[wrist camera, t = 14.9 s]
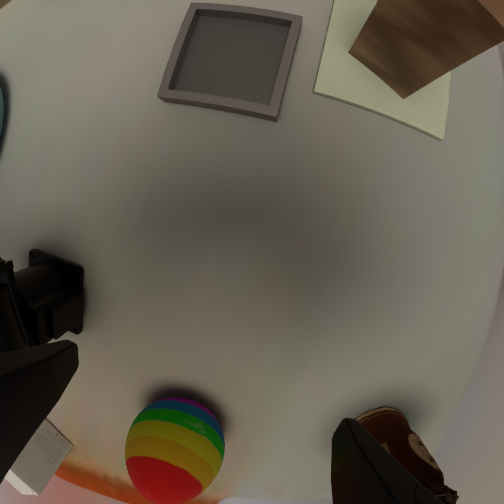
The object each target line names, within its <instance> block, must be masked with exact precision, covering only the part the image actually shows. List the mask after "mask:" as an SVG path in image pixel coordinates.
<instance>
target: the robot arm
mask: <svg viewBox="0 0 504 504" xmlns="http://www.w3.org/2000/svg"><path fill="white" fill-rule="evenodd" d="M33 254H34V255H33ZM13 268H14V266H13V262H12V260H9V261H5V260H3V259H1V257H0V484H1V482H2V480H3V479H4V477H5V476H6V474H7V473H8V471H9V470H10V468H11V467H12V465H13V464H14V462H15V461H16V459H17V458H18V456H19V455H20V453H21V452H22V450H23V449H24V448H25V446H26V445H27V443H28V442H29V440H30V439H31V438H32V436H33V435H34V433H35V432H36V431H37V429H38V428H39V426H40V425H41V424H42V422H43V421H44V419H45V418H46V417H47V415H48V414H49V413H50V411H51V410H52V409H53V407H54V406H55V405H56V403H57V402H58V400H59V399H60V397H61V396H62V394H63V392H64V391H65V389H66V387H67V385H68V384H69V382H70V380H71V379H72V377H73V375H74V374H75V372H76V370H77V368H78V365H79V359H78V346H77V344H76V343H74V342H72V341H70V340H62V341H57V342H53V343H48V342H49V341H51V340H52V339H55V340H57V339H58V338H59V337H61V336H62V335H63V334H64V333H66V332H67V331H70V332H72V333H74V334H77V335H78V334H80V333H81V332H82V319H83V269H82V267H81V266H79V265H76V264H74V263H71V262H68V261H66V260H63V259H60V258H57V257H55V256H52V255H50V254H47V253H44V252H42V251H39V250H37V249H32V250H30V251H29V267H27V268H24V269H22V270H19V271H17V272H15V273H14V271H13ZM76 270H78V273H77V271H76ZM76 328H77V329H78V330H77V329H76ZM47 343H48V344H47ZM331 486H332V499H333V504H444V503H443V502H442V501H441V500H439V499H438V498H437V497H435V496H434V495H433V494H432V493H431V492H430V491H429V490H427V489H426V488H425V487H424V486H423V485H422V484H421V483H420V482H419V481H417V479H416V478H415V477H414V476H413V475H411V474H410V473H409V472H408V471H407V470H406V469H405V468H404V467H403V466H402V465H401V464H400V463H399V462H398V461H397V460H396V459H395V458H394V457H393V456H392V455H391V454H390V453H389V452H388V451H387V450H386V449H385V448H384V447H383V446H382V445H381V444H380V443H379V442H378V441H377V440H376V439H375V438H374V437H373V436H372V435H371V434H370V433H369V432H368V431H367V430H366V429H365V428H364V427H363V426H362V425H361V424H360V423H359V422H358V421H357V420H356V419H351V418H344V419H343V420H342V421H341V423H340V424H339V426H338V428H337V429H336V431H335V433H334V435H333V438H332V459H331Z"/></svg>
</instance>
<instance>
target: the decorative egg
mask: <svg viewBox="0 0 504 504" xmlns="http://www.w3.org/2000/svg"><path fill="white" fill-rule="evenodd" d="M224 450H225V443H224V436H223V432H222V429H221V427H220V424H219V422H218V421H217V419H216V418H215V416H214V415H213V414H212V413H211V412H210V411H209V410H208V409H207V408H206V407H205V406H203V405H202V404H200V403H198V402H196V401H194V400H191V399H187V398H182V397H170V398H165V399H161V400H158V401H156V402H154V403H152V404H150V405H149V406H147V407H146V408H145V409H144V410H142V411H141V412H140V413H139V415H138V416H137V417H136V419H135V420H134V422H133V423H132V425H131V427H130V430H129V432H128V436H127V440H126V445H125V460H126V466H127V470H128V473H129V476H130V478H131V480H132V482H133V484H134V486H135V487H136V489H137V490H138V491H139V492H140V493H141V494H142V495H143V496H144V497H145V498H147V499H148V500H150V501H152V502H154V503H157V504H180V503H184V502H186V501H189V500H191V499H193V498H194V497H196V496H198V495H199V494H200V493H202V492H203V491H204V490H205V489H206V488H207V487H208V486H209V485H210V484H211V483H212V481H213V480H214V479H215V477H216V475H217V474H218V472H219V470H220V467H221V465H222V461H223V457H224Z"/></svg>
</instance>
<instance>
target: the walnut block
mask: <svg viewBox="0 0 504 504" xmlns="http://www.w3.org/2000/svg"><path fill="white" fill-rule="evenodd" d="M502 41H504V0H378V1H377V3H376V5H375V6H374V8H373V10H372V12H371V13H370V15H369V17H368V19H367V20H366V22H365V24H364V26H363V27H362V29H361V31H360V33H359V34H358V36H357V38H356V40H355V41H354V43H353V45H352V47H351V49H350V50H349V52H348V53H349V54H350V55H352V56H353V57H354V58H355V59H357V60H358V61H359V62H361V63H362V64H363V65H364V66H366V67H367V68H368V69H369V70H371V71H372V72H373V73H374V74H375V75H377V76H378V77H379V78H380V79H381V80H382V81H384V82H385V83H386V84H387V85H388V86H389V87H390V88H392V89H393V90H394V91H395V92H396V93H397V94H398V95H399V96H400V97H401V98H402V99H405V98H407V97H408V96H410V95H411V94H413V93H415V92H416V91H418V90H419V89H421V88H423V87H424V86H426V85H428V84H429V83H431V82H433V81H434V80H436V79H438V78H439V77H441V76H443V75H444V74H446V73H448V72H449V71H451V70H453V69H454V68H456V67H458V66H460V65H461V64H463V63H465V62H466V61H468V60H470V59H472V58H473V57H475V56H477V55H479V54H480V53H482V52H484V51H486V50H488V49H489V48H491V47H493V46H495V45H497V44H499V43H500V42H502Z"/></svg>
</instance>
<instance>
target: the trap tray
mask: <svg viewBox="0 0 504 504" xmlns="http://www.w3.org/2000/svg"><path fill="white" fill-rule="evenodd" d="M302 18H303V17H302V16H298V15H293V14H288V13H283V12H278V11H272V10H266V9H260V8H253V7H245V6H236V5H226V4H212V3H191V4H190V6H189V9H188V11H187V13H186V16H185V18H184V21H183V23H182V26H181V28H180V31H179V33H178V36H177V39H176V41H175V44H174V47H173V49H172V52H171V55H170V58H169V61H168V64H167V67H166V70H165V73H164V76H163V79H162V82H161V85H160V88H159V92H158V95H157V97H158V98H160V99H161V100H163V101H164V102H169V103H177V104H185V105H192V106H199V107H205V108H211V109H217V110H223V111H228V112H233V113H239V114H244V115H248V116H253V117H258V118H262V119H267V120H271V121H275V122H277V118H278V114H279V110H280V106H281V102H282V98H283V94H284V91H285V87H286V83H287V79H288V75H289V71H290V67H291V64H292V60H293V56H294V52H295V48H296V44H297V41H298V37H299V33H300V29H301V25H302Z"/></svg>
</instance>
